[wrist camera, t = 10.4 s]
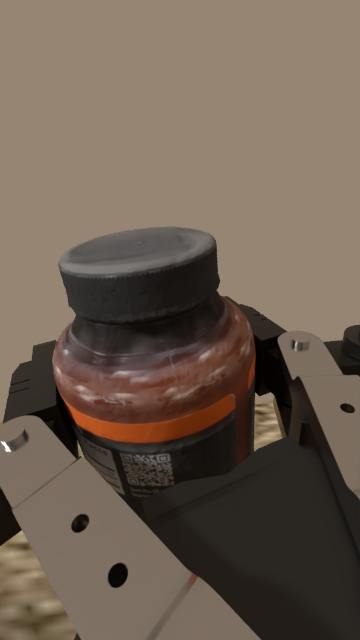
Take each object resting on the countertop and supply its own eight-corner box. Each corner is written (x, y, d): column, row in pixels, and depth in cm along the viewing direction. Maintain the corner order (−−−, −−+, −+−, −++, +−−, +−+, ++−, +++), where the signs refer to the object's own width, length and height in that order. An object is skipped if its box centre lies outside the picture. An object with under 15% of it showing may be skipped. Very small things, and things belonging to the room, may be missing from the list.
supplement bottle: (206, 427, 16) (190, 211, 11) (283, 532, 12) (324, 239, 6) (98, 478, 14) (14, 242, 9) (138, 632, 9) (9, 321, 4)
